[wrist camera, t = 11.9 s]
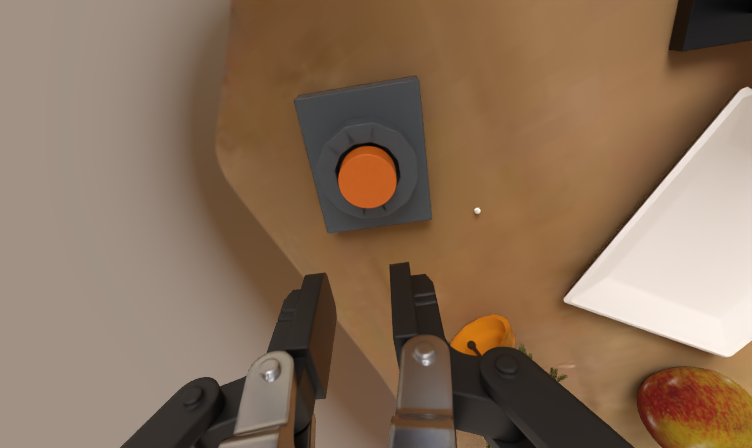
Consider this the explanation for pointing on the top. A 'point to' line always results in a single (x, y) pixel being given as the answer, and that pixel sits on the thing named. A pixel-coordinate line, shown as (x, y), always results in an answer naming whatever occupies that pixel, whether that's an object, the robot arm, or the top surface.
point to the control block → (367, 128)
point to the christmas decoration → (487, 336)
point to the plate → (687, 246)
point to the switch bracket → (711, 23)
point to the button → (367, 177)
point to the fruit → (695, 409)
